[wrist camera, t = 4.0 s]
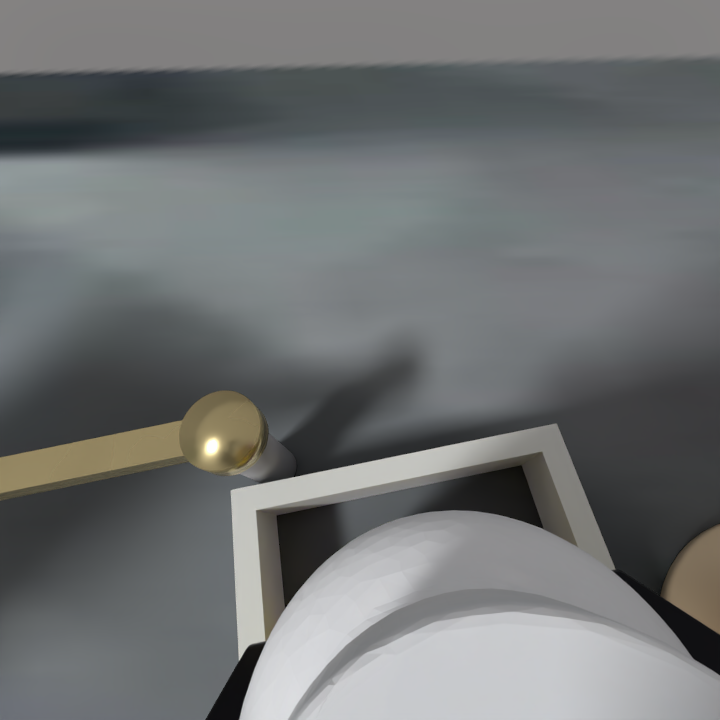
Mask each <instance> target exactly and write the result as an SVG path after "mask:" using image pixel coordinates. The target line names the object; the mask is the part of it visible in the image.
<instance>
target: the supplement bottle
mask: <svg viewBox="0 0 720 720" xmlns="http://www.w3.org/2000/svg"><path fill="white" fill-rule="evenodd" d="M239 720H720V675H719V674H717V673H716V672H714V671H713V670H711V669H709V668H708V667H706V666H704V665H702V664H701V663H699V662H697V661H696V660H694V659H693V658H692V656H691V655H690V654H689V652H688V651H687V649H686V648H685V647H684V645H683V644H682V643H681V641H680V640H679V639H678V637H677V636H676V635H675V633H674V632H673V631H672V630H671V629H670V628H669V627H668V625H667V624H666V623H665V622H664V621H663V620H662V618H661V617H660V616H659V615H658V614H657V613H656V612H655V611H654V610H653V609H652V607H651V606H650V605H649V604H648V603H647V602H646V601H645V600H644V599H643V598H642V597H641V596H640V595H639V594H638V593H637V592H636V591H635V590H634V589H632V588H631V587H630V586H629V585H628V584H627V583H626V582H625V581H623V580H622V579H621V578H620V577H619V576H618V575H616V574H615V573H614V572H613V571H611V570H610V569H609V568H608V567H606V566H605V565H604V564H602V563H601V562H600V561H598V560H597V559H595V558H594V557H593V556H591V555H590V554H588V553H587V552H585V551H583V550H582V549H580V548H578V547H577V546H575V545H573V544H571V543H569V542H568V541H566V540H564V539H562V538H560V537H558V536H556V535H554V534H552V533H550V532H548V531H546V530H544V529H542V528H539V527H537V526H534V525H531V524H528V523H525V522H523V521H519V520H516V519H512V518H509V517H505V516H500V515H496V514H490V513H484V512H477V511H459V510H450V511H436V512H427V513H421V514H416V515H412V516H408V517H403V518H400V519H397V520H394V521H391V522H388V523H385V524H383V525H381V526H378V527H376V528H374V529H372V530H370V531H368V532H366V533H364V534H362V535H360V536H358V537H357V538H355V539H354V540H352V541H351V542H349V543H348V544H346V545H345V546H344V547H342V548H341V549H340V550H338V551H337V552H336V553H335V554H333V555H332V556H331V557H330V558H328V559H327V560H326V561H325V562H324V563H323V564H322V565H321V566H320V567H319V568H318V569H317V570H316V571H315V572H314V573H313V574H312V575H311V576H310V577H309V579H308V580H307V581H306V582H305V583H304V584H303V586H302V587H301V588H300V589H299V590H298V591H297V593H296V594H295V596H294V597H293V598H292V600H291V601H290V603H289V604H288V605H287V607H286V608H285V610H284V611H283V613H282V614H281V616H280V618H279V619H278V621H277V623H276V625H275V626H274V628H273V630H272V632H271V634H270V636H269V638H268V640H267V642H266V644H265V646H264V648H263V650H262V653H261V655H260V657H259V660H258V662H257V664H256V667H255V669H254V672H253V675H252V678H251V681H250V684H249V687H248V690H247V693H246V696H245V699H244V702H243V706H242V710H241V714H240V718H239Z"/></svg>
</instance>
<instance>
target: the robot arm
mask: <svg viewBox="0 0 720 720" xmlns="http://www.w3.org/2000/svg"><path fill="white" fill-rule="evenodd" d="M611 571H613V572H614V573H615V574H616V575H618V576H619V577H620V578H621V579H622V580H623V581H625V582H626V583H627V584H628V585H629V586H630V587H631V588H632V589H634V590H635V591H636V592H637V593H638V594H639V595H640V596H641V597H642V598H643V599H644V600H645V601H646V602H647V603H648V604H649V605H650V606H651V607H652V609H653V610H654V611H655V612H656V613H657V614H658V615H659V616H660V617H661V618H662V620H663V621H664V622H665V623H666V624H667V625H668V627H669V628H670V629H671V630H672V631H673V632H674V633H675V635H676V636H677V637H678V639H679V640H680V641H681V643H682V644H683V645H684V647H685V648H686V649H687V651H688V652H689V654H690V655H691V656H692V658H693V659H694V660H696V661H697V662H699V663H701V664H702V665H704V666H706V667H708V668H709V669H711V670H713V671H714V672H716V673H717V674H719V675H720V634H718V633H717V632H715V631H714V630H712V629H711V628H709V627H707V626H706V625H704V624H703V623H701V622H700V621H698V620H697V619H695V618H693V617H692V616H690V615H689V614H687V613H686V612H684V611H683V610H681V609H680V608H678V607H676V606H675V605H673V604H672V603H670V602H669V601H667V600H666V599H664V598H663V597H661V596H659V595H658V594H656V593H655V592H653V591H652V590H650V589H649V588H647V587H645V586H644V585H642V584H641V583H639V582H638V581H636V580H635V579H633V578H632V577H630V576H628V575H627V574H625V573H624V572H622V571H620V570H611ZM266 642H267V641H263V642H258V643H254V644H251V645H249V646H248V647H247V648H246V650H245V652H244V653H243V655H242V657H241V659H240V660H239V662H238V664H237V666H236V667H235V669H234V671H233V673H232V674H231V676H230V678H229V680H228V681H227V683H226V685H225V687H224V688H223V690H222V692H221V693H220V695H219V697H218V699H217V700H216V702H215V704H214V706H213V707H212V709H211V711H210V713H209V714H208V716H207V718H206V720H239V718H240V714H241V710H242V706H243V702H244V699H245V696H246V693H247V690H248V687H249V684H250V681H251V678H252V675H253V672H254V669H255V667H256V664H257V662H258V660H259V657H260V655H261V653H262V650H263V648H264V646H265V644H266Z"/></svg>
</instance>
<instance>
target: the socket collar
mask: <svg viewBox="0 0 720 720" xmlns="http://www.w3.org/2000/svg"><path fill="white" fill-rule="evenodd" d="M520 465H522V468H523V471H524V474H525V477H526V479H527V482H528V485H529V488H530V491H531V494H532V497H533V499H534V502H535V505H536V508H537V511H538V514H539V517H540V520H541V522H542V525H543V528H544V530H546V531H548V532H550V533H552V534H554V535H556V536H558V537H560V538H562V539H564V540H566V541H568V542H569V543H571V544H573V545H575V546H577V547H578V548H580V549H582V550H583V551H585V552H587V553H588V554H590V555H591V556H593V557H594V558H595V559H597V560H598V561H600V562H601V563H602V564H604V565H605V566H606V567H608V568H609V569H610V570H616V569H615V567H614V564H613V562H612V559H611V557H610V554H609V552H608V549H607V547H606V544H605V542H604V539H603V537H602V535H601V532H600V530H599V527H598V525H597V522H596V520H595V517H594V515H593V512H592V510H591V507H590V505H589V502H588V500H587V497H586V495H585V492H584V490H583V487H582V485H581V482H580V480H579V477H578V475H577V473H576V470H575V468H574V465H573V463H572V460H571V458H570V455H569V453H568V450H567V448H566V445H565V443H564V440H563V438H562V435H561V433H560V430H559V428H558V425H557V423H556V424H551V425H546V426H541V427H536V428H531V429H526V430H522V431H517V432H512V433H507V434H502V435H497V436H492V437H487V438H483V439H478V440H473V441H468V442H463V443H458V444H453V445H448V446H444V447H439V448H434V449H429V450H424V451H419V452H414V453H409V454H405V455H400V456H395V457H390V458H385V459H380V460H375V461H370V462H366V463H361V464H356V465H351V466H346V467H341V468H336V469H331V470H327V471H322V472H317V473H312V474H307V475H302V476H297V477H294V475H295V473H296V468H297V464H296V460H295V457H294V455H293V454H292V453H291V452H290V451H289V450H288V449H287V448H285V447H284V446H283V445H282V444H281V443H280V442H279V441H277V440H276V439H275V438H274V437H273V436H272V435H271V434H270V433H269V435H268V442H267V445H266V448H265V450H264V452H263V454H262V456H261V457H260V458H259V460H258V461H257V462H256V463H255V464H254V465H253V466H252V467H250V468H249V469H247V470H246V471H244V472H242V473H239V474H242V475H244V476H246V477H248V478H250V479H252V480H254V481H257V482H259V483H261V484H258V485H253V486H249V487H244V488H239V489H234V490H231V504H232V524H233V545H234V566H235V587H236V607H237V628H238V649H239V660H240V659H241V657H242V655H243V653H244V652H245V650H246V648H247V647H248V646H249V645H251V644H254V643H258V642H263V641H267V640H268V638H269V636H270V634H271V632H272V630H273V628H274V626H275V625H276V623H277V621H278V619H279V618H280V616H281V614H282V613H283V611H284V610H285V604H284V593H283V582H282V571H281V560H280V549H279V538H278V527H277V516H276V515H281V514H286V513H291V512H296V511H301V510H306V509H311V508H315V507H320V506H325V505H330V504H335V503H340V502H345V501H350V500H354V499H359V498H364V497H369V496H374V495H379V494H384V493H389V492H393V491H398V490H403V489H408V488H413V487H418V486H423V485H428V484H432V483H437V482H442V481H447V480H452V479H457V478H462V477H467V476H471V475H476V474H481V473H486V472H491V471H496V470H501V469H506V468H510V467H515V466H520Z"/></svg>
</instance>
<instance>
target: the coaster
mask: <svg viewBox="0 0 720 720" xmlns="http://www.w3.org/2000/svg"><path fill="white" fill-rule="evenodd" d="M660 596H661V597H663V598H664V599H666V600H667V601H669V602H670V603H672V604H673V605H675V606H676V607H678V608H680V609H681V610H683V611H684V612H686V613H687V614H689V615H690V616H692V617H693V618H695V619H697V620H698V621H700V622H701V623H703V624H704V625H706V626H707V627H709V628H711V629H712V630H714V631H715V632H717V633H718V634H720V524H718V525H715V526H713V527H711V528H709V529H707V530H705V531H703V532H702V533H700V534H699V535H698V536H696V537H695V538H694V539H692V540H691V541H690V542H689V543H688V544H687V545H686V546H685V547H684V548H683V549H682V550H681V552H680V553H679V554H678V555H677V557H676V559H675V560H674V562H673V563H672V565H671V566H670V568H669V571H668V573H667V575H666V578H665V580H664V583H663V586H662V590H661V594H660Z"/></svg>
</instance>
